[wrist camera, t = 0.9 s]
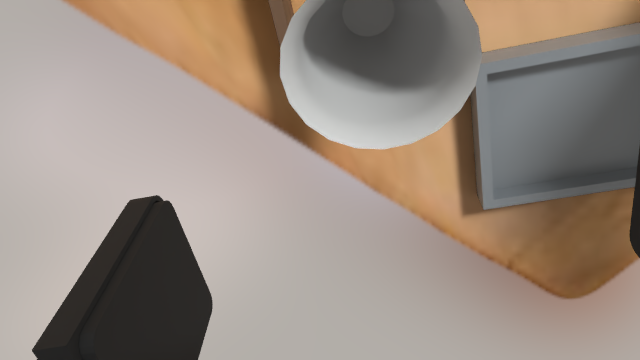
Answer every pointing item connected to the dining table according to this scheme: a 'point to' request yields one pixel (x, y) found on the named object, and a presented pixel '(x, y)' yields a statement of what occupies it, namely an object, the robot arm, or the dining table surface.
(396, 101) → the chalice
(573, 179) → the tray
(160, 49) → the dining table surface
